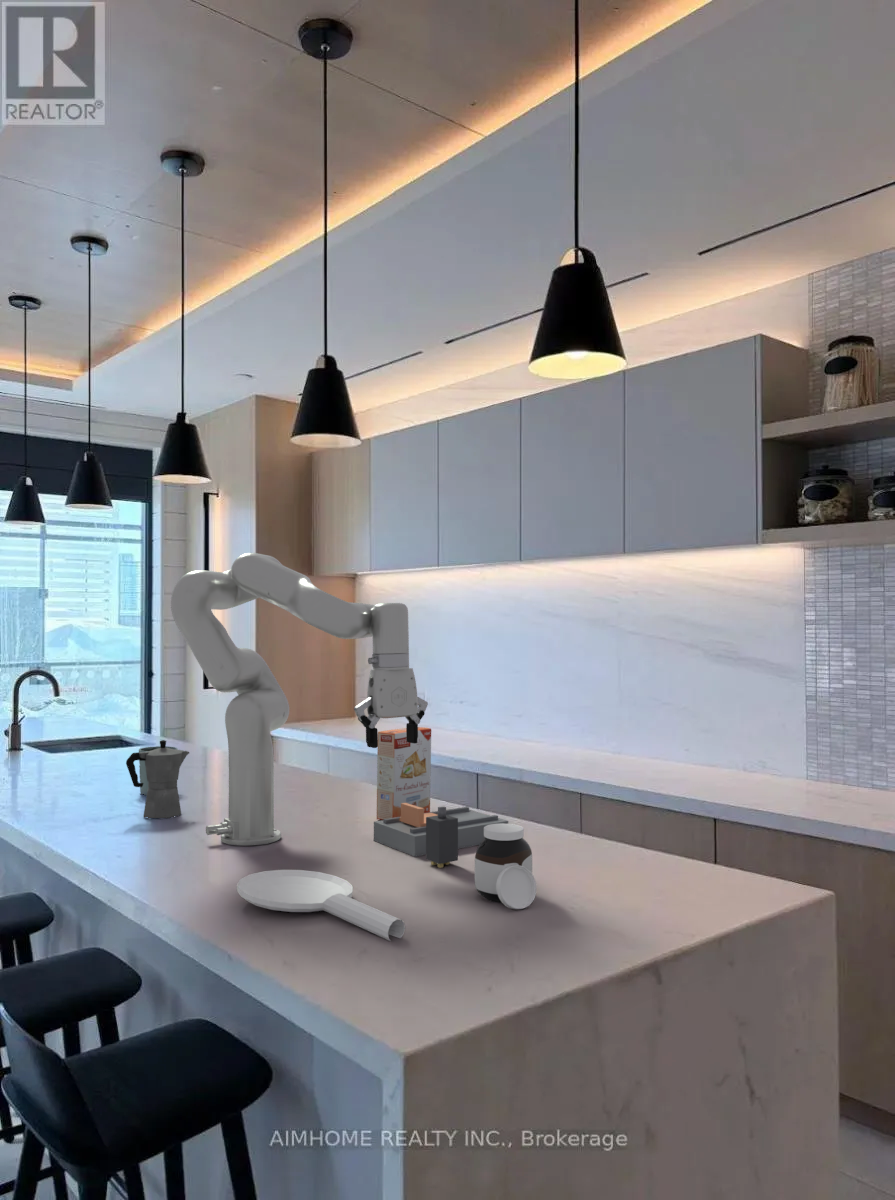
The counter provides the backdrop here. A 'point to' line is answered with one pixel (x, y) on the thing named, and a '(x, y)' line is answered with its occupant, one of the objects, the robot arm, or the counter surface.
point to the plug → (441, 838)
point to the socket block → (415, 837)
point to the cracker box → (403, 771)
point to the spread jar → (505, 866)
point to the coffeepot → (159, 780)
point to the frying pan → (316, 898)
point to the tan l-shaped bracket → (414, 815)
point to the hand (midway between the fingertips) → (392, 744)
